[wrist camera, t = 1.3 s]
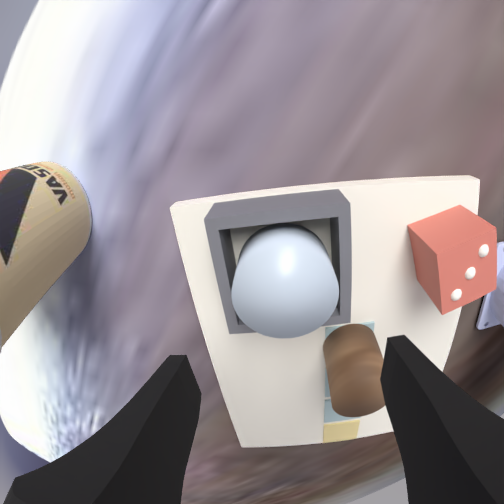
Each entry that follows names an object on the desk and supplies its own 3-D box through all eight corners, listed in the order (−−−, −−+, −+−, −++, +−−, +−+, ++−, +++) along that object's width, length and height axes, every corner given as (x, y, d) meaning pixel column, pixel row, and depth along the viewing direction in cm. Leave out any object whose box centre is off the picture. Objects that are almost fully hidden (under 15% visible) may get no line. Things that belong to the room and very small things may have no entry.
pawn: (377, 319, 19) (398, 372, 15) (372, 359, 21) (388, 411, 16) (322, 327, 20) (332, 383, 15) (322, 366, 21) (330, 421, 17)
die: (459, 204, 16) (498, 229, 12) (465, 258, 17) (498, 291, 13) (407, 225, 17) (438, 256, 13) (416, 279, 18) (443, 317, 14)
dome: (326, 218, 15) (338, 241, 12) (329, 299, 17) (338, 332, 14) (231, 228, 16) (222, 253, 13) (245, 307, 18) (241, 341, 15)
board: (469, 175, 16) (505, 191, 12) (418, 416, 26) (427, 444, 23) (175, 201, 18) (152, 224, 15) (242, 438, 29) (239, 469, 25)
